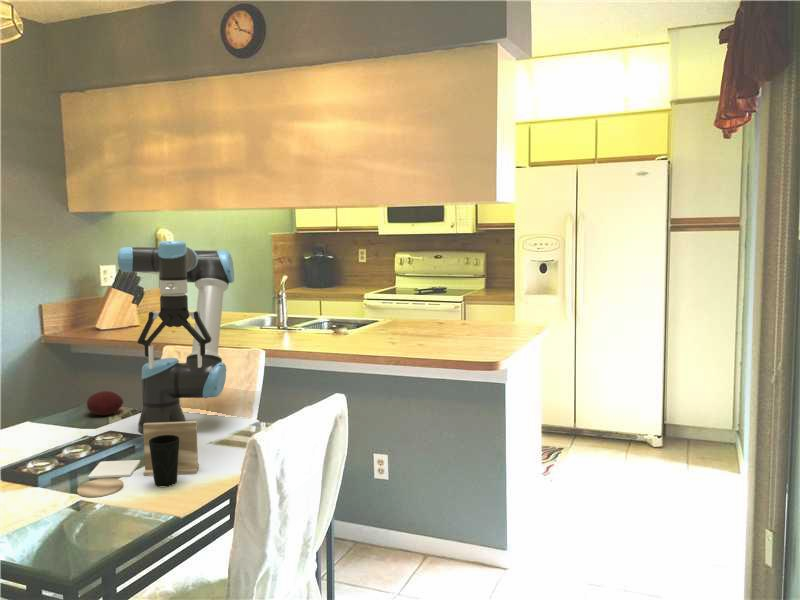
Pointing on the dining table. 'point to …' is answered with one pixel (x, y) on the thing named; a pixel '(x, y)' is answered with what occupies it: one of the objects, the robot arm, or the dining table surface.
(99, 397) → the potato
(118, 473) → the stone coaster
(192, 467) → the screen
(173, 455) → the cup
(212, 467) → the dining table surface
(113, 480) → the cork coaster
